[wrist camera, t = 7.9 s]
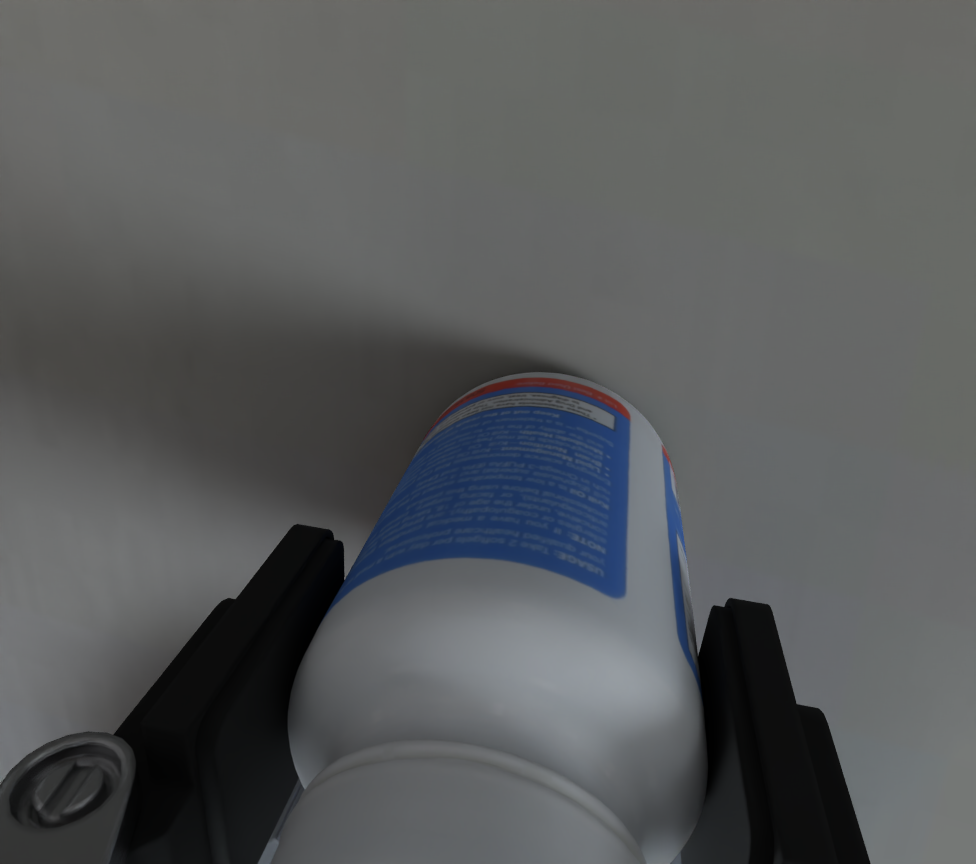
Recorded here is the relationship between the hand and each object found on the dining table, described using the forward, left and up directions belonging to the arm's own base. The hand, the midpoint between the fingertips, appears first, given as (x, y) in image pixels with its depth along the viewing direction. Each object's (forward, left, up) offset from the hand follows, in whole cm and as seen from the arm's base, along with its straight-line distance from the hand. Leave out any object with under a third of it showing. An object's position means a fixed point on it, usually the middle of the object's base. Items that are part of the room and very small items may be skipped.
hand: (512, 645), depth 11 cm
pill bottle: (0, 0, -5) cm, 5 cm away
